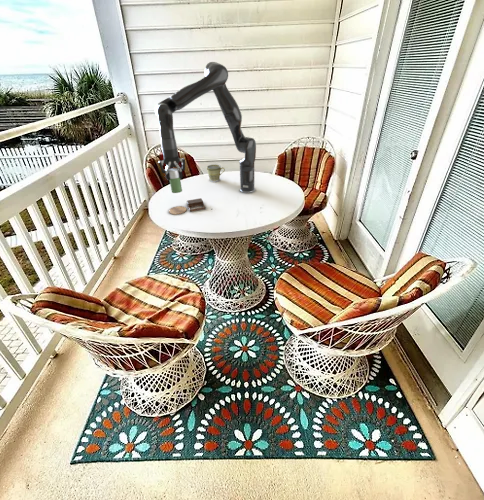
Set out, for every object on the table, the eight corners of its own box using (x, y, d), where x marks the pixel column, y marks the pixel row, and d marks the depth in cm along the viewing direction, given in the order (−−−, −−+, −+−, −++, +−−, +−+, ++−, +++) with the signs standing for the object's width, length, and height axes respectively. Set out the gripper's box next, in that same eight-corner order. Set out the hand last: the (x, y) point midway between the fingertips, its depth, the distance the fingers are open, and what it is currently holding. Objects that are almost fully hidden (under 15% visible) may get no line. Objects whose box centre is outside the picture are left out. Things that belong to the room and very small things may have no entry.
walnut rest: (187, 204, 165) (186, 200, 163) (201, 202, 167) (201, 198, 166) (190, 211, 157) (189, 207, 156) (205, 209, 159) (205, 204, 158)
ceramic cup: (206, 182, 195) (204, 168, 190) (209, 177, 203) (208, 164, 198) (224, 183, 193) (223, 169, 188) (226, 178, 201) (226, 164, 196)
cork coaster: (175, 206, 164) (175, 205, 164) (189, 208, 161) (189, 207, 161) (165, 213, 157) (165, 212, 157) (180, 215, 154) (180, 214, 153)
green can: (167, 177, 157) (166, 165, 145) (178, 176, 158) (177, 163, 146) (172, 197, 154) (171, 185, 142) (183, 195, 155) (182, 184, 143)
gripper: (155, 150, 135) (162, 183, 144) (184, 147, 139) (189, 179, 148) (154, 147, 141) (160, 178, 150) (182, 144, 144) (186, 175, 154)
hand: (174, 179), depth 149 cm, fingers closed on green can, 6 cm apart
